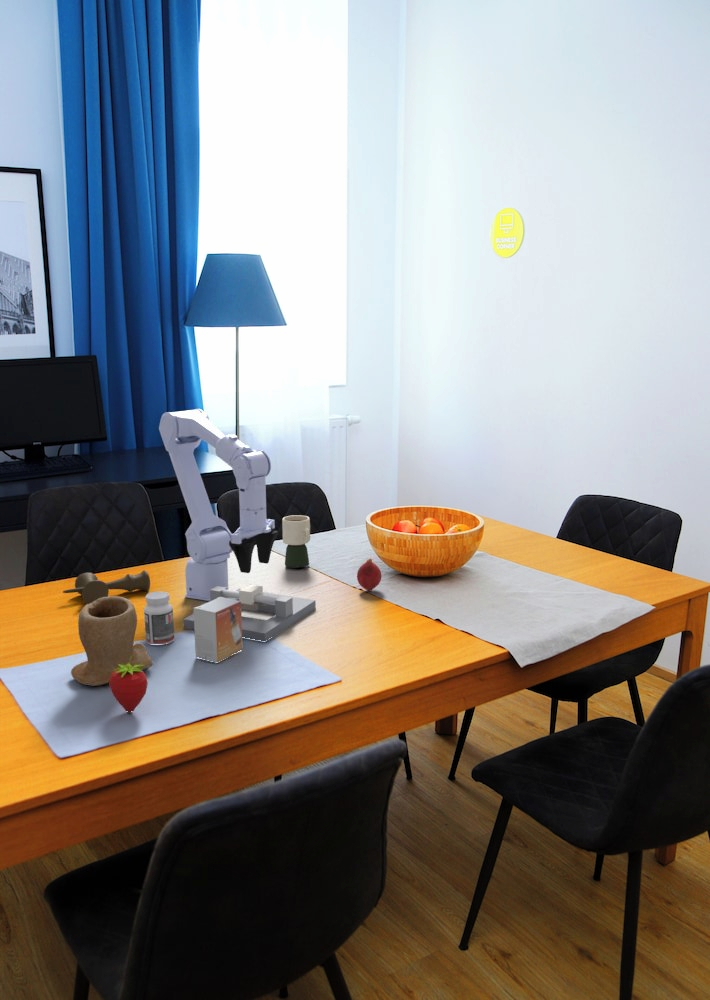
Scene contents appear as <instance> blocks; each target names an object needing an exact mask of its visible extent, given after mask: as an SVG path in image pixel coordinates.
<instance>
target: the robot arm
mask: <svg viewBox="0 0 710 1000" xmlns="http://www.w3.org/2000/svg"><path fill="white" fill-rule="evenodd" d="M209 418H210V417H209V415H208V413H207V412H205V411H204V410H202V409H200V408H195V409H189V410H180V411H172V412H170V411H168V412H167V411H166V412H163V414H162V415H161V418H160V420H159V421H160V422H159V425H158V430H159V434H160V437H161V439H162V442H163V445H164V448H165V451H167V452H168V455H169V457H170V461H171V464H172V466H173V470H174V472H175V476H176V478H177V481H178V484H179V487H180V491H181V494H182V496H183V499H184V502H185V505H186V507H187V510H188V514H189V517H190V520H191V523H190V525H189V527H188V528H187V530H186V531H185V533H184V535H185V538H186V548H187V549H186V550H187V553H188V555H189V557H190V558H189V559H188V561H187V563H186V565H185V571H184V572H185V590H186V591H185V592H186V593H185V594H184V598H188V599H193V600H199V601H207V602H210V601H211V600H210V590H211V589H213V588H215V587H217V586H221V587H227V590H230V588H229V587H230V586H229V568H228V559H229V558H231V553H233V554H234V556H235V559H236V561H237V564H238V568H239V571H240V573H242V574H243V573H244V574H250V572H251V569H252V559H253V558H252V557H253V553H254V552H253V551H254V549H255V546H256V550H257V551H256V552H257V558H258V562H259V564H266V565H267V564H269V561H270V557H271V554H272V549H273V546H274V543H275V542H276V538H277V537H278V534H279V532H278V530H274V529H275V527H276V525H275V523H276V522H275V521H276V520H275V519H270V518H267V493H266V492H267V490H266V489H267V488H266V487H267V485H266V483H267V482H266V477H267V476H269V475H270V473H271V469H272V463H271V460H270V457H269V456H268V454H267V453H266V452H265V451H264V450H262V449H258V450H255V449H252V447H250V446H249V445H247V444H245V443H243V441H241V440H240V439H238V438H239V437H238V436H237V435H236V434H227V435H225V434H224V433H223V432H222V431H221V430H220V429H218V427H216V426H215V425H214V424H213V423H212V422H211V421H210V419H209ZM202 441H204V442H205V443H207V444H208V445H209V446H211V447H213V448H214V449H215V451H214V452H215V454H216V456H217V457H218V458H219V459H220V460H222V461H223V462H224V463H225V464H227V465H228V466H230V468H232V472H233V475H234V477H235V482H236V483H235V484H236V486H237V488H238V497H239V499H238V500H239V527H238V528H237V529H236V531H234V533H232V532H231V531H230V529H229V527H228V526H227V523H226V521H225V520H223V519H222V518H221V517H218V516H216V515H215V514H214V511H213V507H212V505H211V502H210V499H209V496H208V493H207V490H206V488H205V484H204V481H203V478H202V476H201V472H200V470H199V467H198V463H197V462H196V457H195V455H194V451H195V449H196V448H198V447H199V446H200V444H201V442H202ZM251 538H254V541H255V542H250V541H249V539H251ZM231 590H232V591H236V590H235V589H231Z"/></svg>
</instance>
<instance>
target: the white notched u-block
mask: <svg viewBox="0 0 710 1000" xmlns="http://www.w3.org/2000/svg"><path fill="white" fill-rule="evenodd" d="M240 589H241V590H239V601H241V610H246V611H252V612H256V610H258V605H260V606H265V605H267V603H261V602H254V596H255V595H257V594H258V595H263V592H264V589H263V586H261V585H255V584H250V585H247V586H245V587H243V588H240Z"/></svg>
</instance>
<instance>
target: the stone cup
mask: <svg viewBox="0 0 710 1000" xmlns="http://www.w3.org/2000/svg"><path fill="white" fill-rule="evenodd" d="M137 614H138V613H137V610H136V608H135V606H134V603H133V602H132V601H131V600H130V599H128V598H125V597H124V596H118V595H111V596H110V595H108V597H102V598H99V599H97V600H95V601H93V602H92V603H90V604H85V605H84V606H83V607H82V609H81V610H80V612H79V613H78V620H77V627H78V635H79V640H80V642H81V646H82V647H83V649H84V651H85V655H86V659H87V660H85V661H83V662H80V663H79V664H76V665H75V666H73V667H72V669H71V670H70V674H71V676H72V678H73V679H74V680H75V681H77V682H78V683H80V684H82V685H87V686H92V687H93V686H95V687H97V686H102V685H106V684H109V681H110V676H111V674H112V673H113V672H114V671H115V670H114V671H113V669H118V668H120V667H119V665H118V664H121V665H127V664H128V663H129V664H130V665H131V666H132V667H133V666H134V665H145V666H142V667H139V668H138V669H140V670H142V671H144V670H146V669H148V668H151V667H152V666H154V662H153V660H152V658H151V656H150V655H149V653H148V652H147V648H146V647H147V646H145V645H144V643H136V644H134V643H135V637H136V631H137V627H138V615H137ZM131 656H132V657H131ZM130 658H131V660H130ZM129 660H130V662H129Z"/></svg>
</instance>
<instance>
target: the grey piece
mask: <svg viewBox="0 0 710 1000" xmlns="http://www.w3.org/2000/svg"><path fill="white" fill-rule="evenodd" d="M241 589H242V588H237V589H236V590H235V591H232V590H233V589H229V590H227V587H221V586H217V587H215V588H213V589H211V590H210V600H211V601H212V600H215V599H217V598H218V597H224V598H228V599H233V600H237V601H239V590H241ZM254 602H261V603H267V605H265V606H260V605H258V610H256V611H257V612H264V613H269V614H275V615H273V616H271V617H269V618H268V619H267V620H266V619H259V618H255V617H249V616H248V617H247V616H243V615H241V620H242V637H245V638H250V639H255V640H261V641H266V640H268V639H269V638H271V637H273V638H275V637H276V636H278V635H279V634H280V633H282V632H283V631H285V630H287V629H289V627H291V626H292V625H293V624H295V623H297V622H298V621H300V620H301V619H302V618H304V617H306V616H307V615H309V614H310V613H312V612H313V611H315V610H316V607H317V606H316V599H310V598H304V597H297V596H290V595H285V594H276V593H270V592H265V591H263V595H258V594H257V595H255V596H254ZM256 611H255V612H256ZM182 622H183V629H185V630H186V629H188V630H192V629H194V613H192V614H190V615H188V616H186V617H185V618H183V620H182ZM271 639H272V638H271Z"/></svg>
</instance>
